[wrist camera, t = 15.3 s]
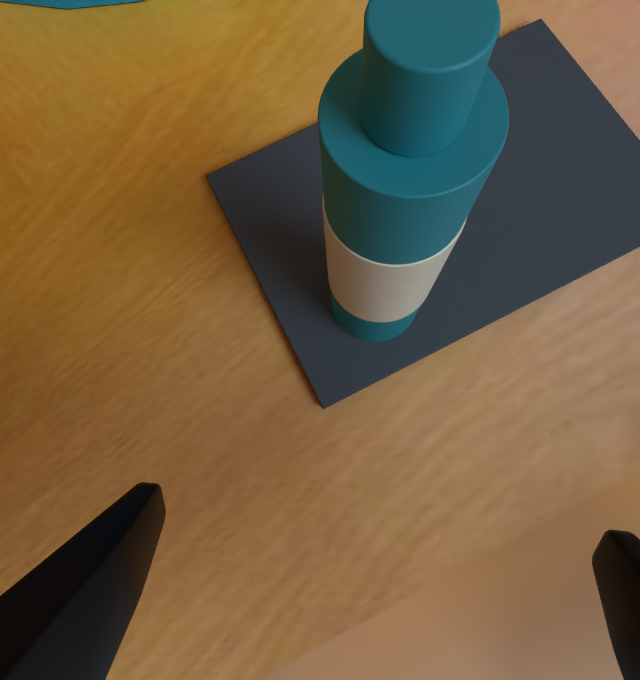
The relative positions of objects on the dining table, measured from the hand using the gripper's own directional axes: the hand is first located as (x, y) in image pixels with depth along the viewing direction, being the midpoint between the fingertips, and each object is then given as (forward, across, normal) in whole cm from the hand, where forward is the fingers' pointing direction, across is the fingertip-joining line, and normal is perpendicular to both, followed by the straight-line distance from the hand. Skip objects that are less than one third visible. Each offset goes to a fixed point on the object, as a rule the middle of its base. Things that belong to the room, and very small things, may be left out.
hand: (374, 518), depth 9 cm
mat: (+15, -3, -3) cm, 16 cm away
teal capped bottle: (+11, 0, 0) cm, 11 cm away
